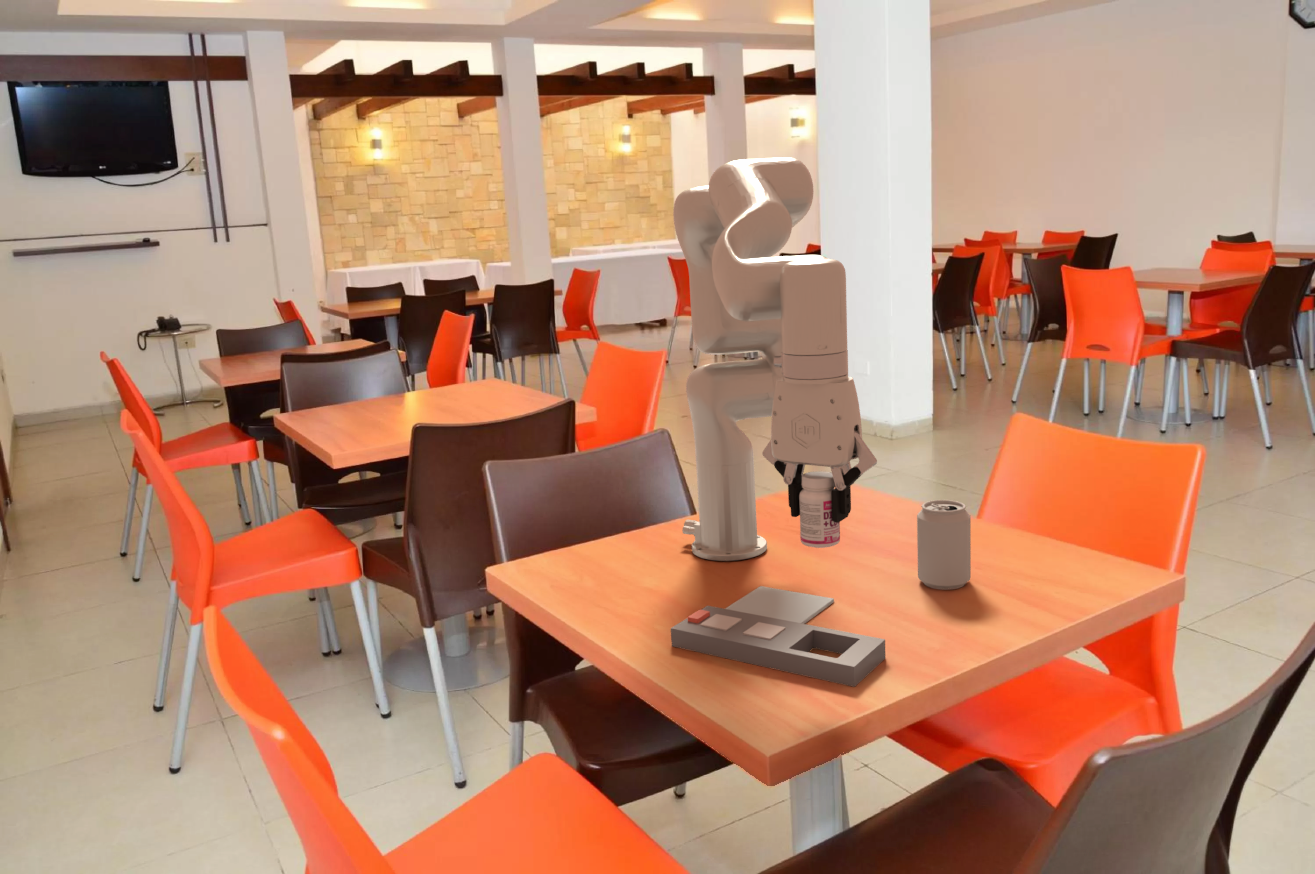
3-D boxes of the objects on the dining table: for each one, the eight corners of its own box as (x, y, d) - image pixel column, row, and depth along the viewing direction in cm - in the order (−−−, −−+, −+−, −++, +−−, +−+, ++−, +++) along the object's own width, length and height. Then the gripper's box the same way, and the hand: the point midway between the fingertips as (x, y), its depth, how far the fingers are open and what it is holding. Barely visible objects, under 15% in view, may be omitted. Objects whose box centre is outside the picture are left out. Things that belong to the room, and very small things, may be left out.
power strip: (671, 646, 136) (670, 623, 136) (708, 622, 143) (707, 601, 143) (854, 686, 121) (853, 662, 121) (885, 658, 128) (885, 634, 128)
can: (972, 591, 148) (972, 511, 146) (918, 591, 150) (917, 511, 147) (968, 574, 155) (968, 497, 153) (916, 573, 157) (915, 497, 155)
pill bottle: (831, 550, 122) (828, 481, 120) (794, 546, 125) (791, 478, 123) (846, 538, 126) (844, 471, 124) (810, 534, 129) (807, 468, 127)
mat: (718, 616, 145) (717, 613, 145) (760, 589, 155) (760, 585, 155) (794, 631, 138) (794, 627, 138) (834, 601, 148) (833, 598, 148)
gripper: (736, 369, 123) (743, 516, 127) (869, 374, 113) (872, 534, 117) (767, 359, 129) (773, 501, 132) (896, 364, 119) (898, 516, 123)
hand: (819, 515), depth 125 cm, fingers closed on pill bottle, 4 cm apart
